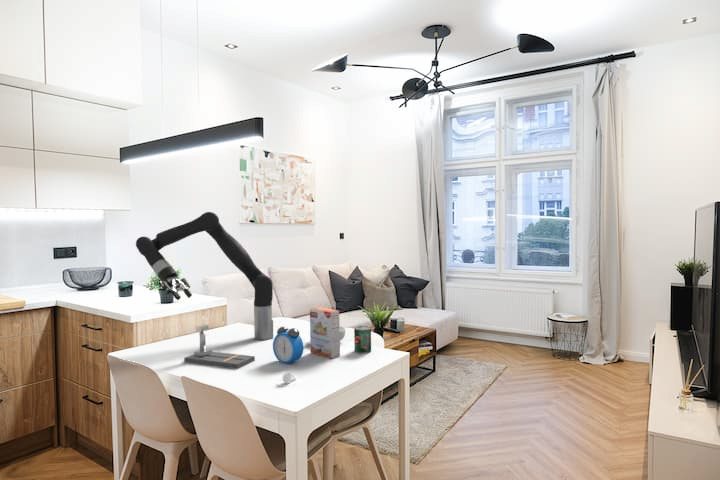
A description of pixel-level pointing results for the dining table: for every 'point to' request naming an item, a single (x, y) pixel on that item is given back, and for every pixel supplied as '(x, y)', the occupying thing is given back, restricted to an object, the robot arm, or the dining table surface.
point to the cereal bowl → (342, 332)
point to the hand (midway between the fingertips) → (184, 297)
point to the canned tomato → (362, 339)
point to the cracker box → (324, 332)
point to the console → (221, 360)
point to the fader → (202, 341)
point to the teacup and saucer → (288, 379)
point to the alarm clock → (287, 345)
